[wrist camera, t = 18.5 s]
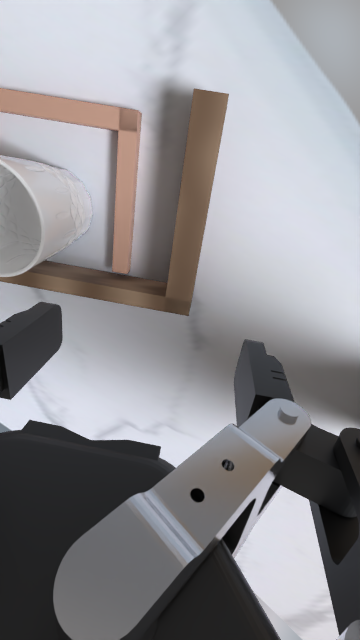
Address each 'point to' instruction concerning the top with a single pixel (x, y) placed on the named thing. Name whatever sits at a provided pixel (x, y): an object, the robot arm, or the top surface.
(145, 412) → the top surface
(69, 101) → the corral frame
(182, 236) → the wooden l-shaped bracket
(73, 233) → the white cup
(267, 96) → the top surface
